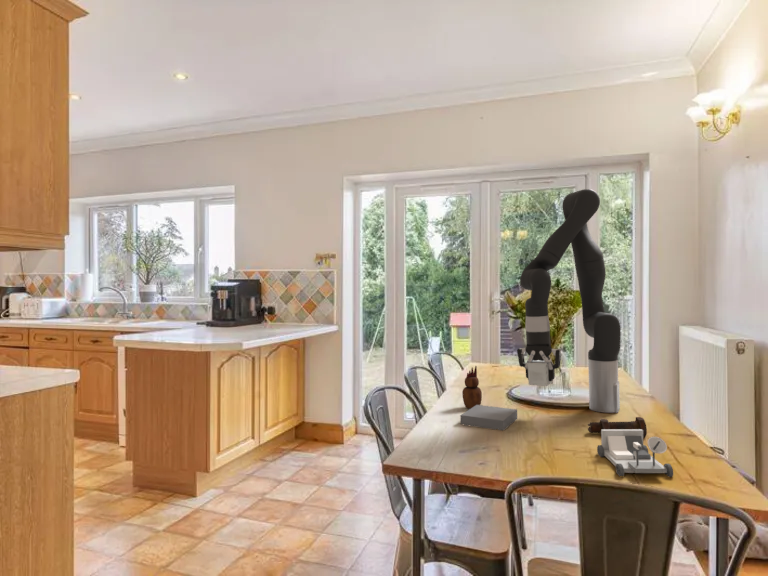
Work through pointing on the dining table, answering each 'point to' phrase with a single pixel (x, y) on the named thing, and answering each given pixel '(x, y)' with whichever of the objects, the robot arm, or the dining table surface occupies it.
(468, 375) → the wooden figurine
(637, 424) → the bolt
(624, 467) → the toy go-kart
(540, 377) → the skincare box
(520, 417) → the dining table surface
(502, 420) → the stand
